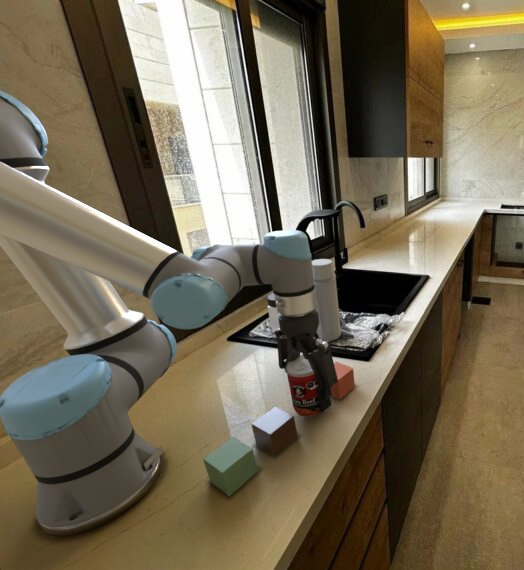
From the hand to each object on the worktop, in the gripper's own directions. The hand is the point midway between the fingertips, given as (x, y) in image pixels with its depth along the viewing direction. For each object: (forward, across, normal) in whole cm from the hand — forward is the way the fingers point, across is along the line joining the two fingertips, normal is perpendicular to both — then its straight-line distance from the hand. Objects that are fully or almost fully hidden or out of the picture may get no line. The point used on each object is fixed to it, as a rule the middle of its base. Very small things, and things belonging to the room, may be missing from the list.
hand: (311, 401), depth 73 cm
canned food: (+1, 0, 0) cm, 1 cm away
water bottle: (+3, -20, +25) cm, 33 cm away
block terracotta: (+3, 0, +8) cm, 9 cm away
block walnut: (+3, 0, -10) cm, 10 cm away
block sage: (+3, 0, -19) cm, 19 cm away
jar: (+3, -37, +24) cm, 44 cm away
